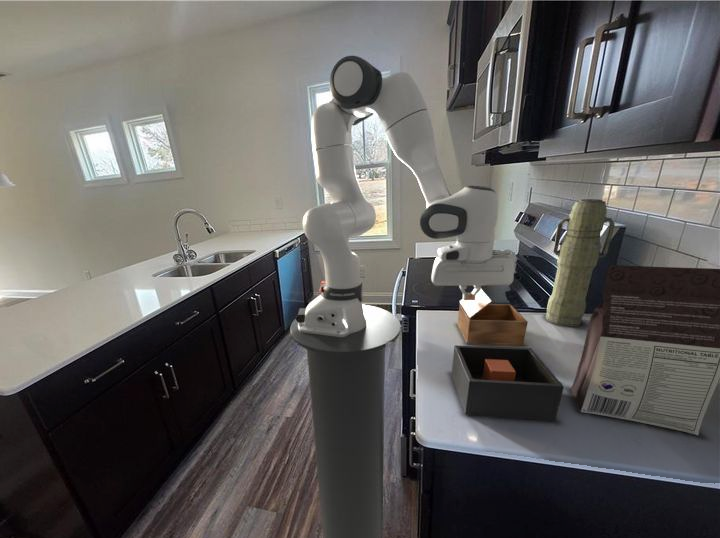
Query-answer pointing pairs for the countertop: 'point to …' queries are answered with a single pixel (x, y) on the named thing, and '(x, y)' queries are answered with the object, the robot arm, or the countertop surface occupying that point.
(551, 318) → the thermos
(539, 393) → the basket
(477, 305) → the flap
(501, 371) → the block
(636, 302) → the protein powder
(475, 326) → the wooden box
